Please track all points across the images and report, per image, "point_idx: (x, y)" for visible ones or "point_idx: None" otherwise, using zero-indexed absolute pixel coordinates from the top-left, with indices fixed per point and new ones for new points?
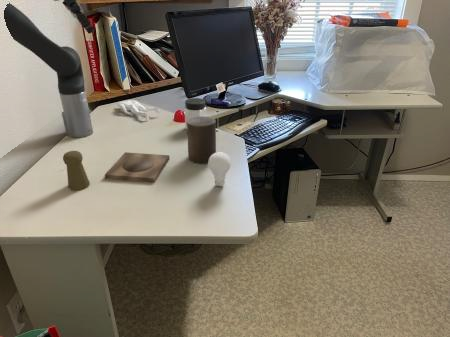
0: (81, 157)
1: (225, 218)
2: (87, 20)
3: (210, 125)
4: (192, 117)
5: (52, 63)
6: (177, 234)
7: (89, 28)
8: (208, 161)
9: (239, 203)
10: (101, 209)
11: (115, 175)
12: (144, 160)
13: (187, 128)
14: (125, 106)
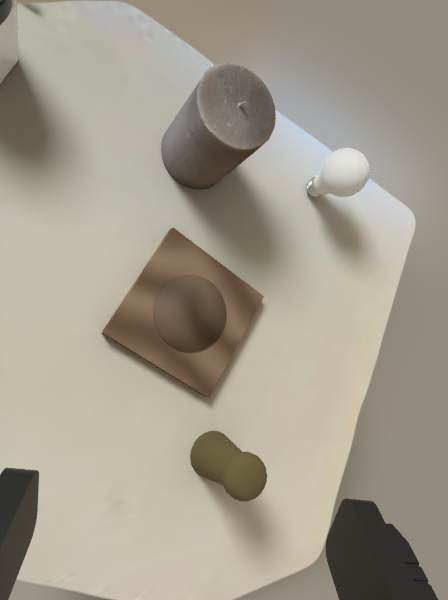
0: (253, 454)
1: (383, 230)
2: (391, 548)
3: (272, 104)
4: (2, 44)
5: None
6: (391, 306)
7: (20, 536)
8: (343, 191)
9: (362, 190)
10: (306, 408)
11: (221, 373)
12: (180, 295)
13: (224, 155)
14: None
